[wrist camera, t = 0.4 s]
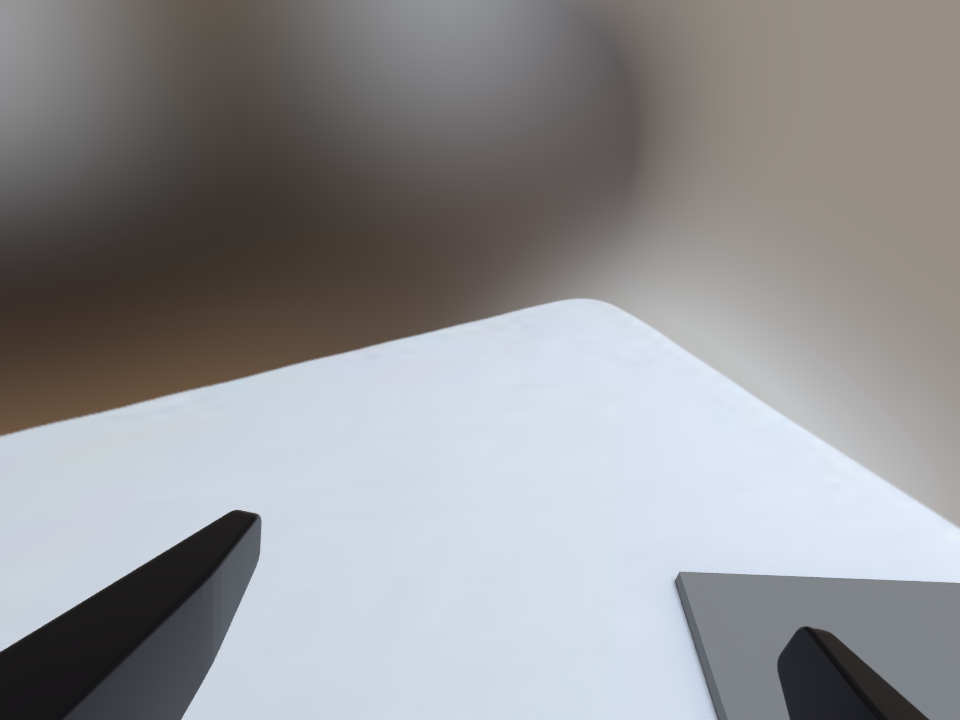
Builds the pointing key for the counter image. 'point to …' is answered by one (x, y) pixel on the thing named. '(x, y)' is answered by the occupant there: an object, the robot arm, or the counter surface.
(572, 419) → the counter surface
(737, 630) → the mat
